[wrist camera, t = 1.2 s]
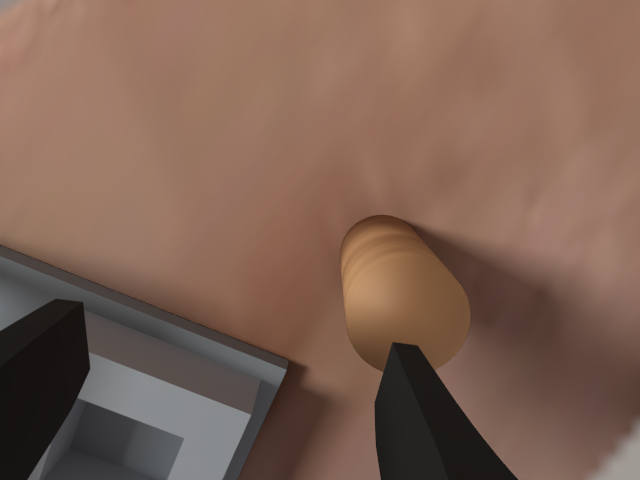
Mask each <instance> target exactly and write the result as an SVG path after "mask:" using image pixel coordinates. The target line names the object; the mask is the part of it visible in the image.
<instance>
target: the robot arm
mask: <svg viewBox="0 0 640 480" xmlns="http://www.w3.org/2000/svg"><path fill="white" fill-rule="evenodd" d="M89 371H90V360H89V351H88V342H87V333H86V323H85V314H84V305H83V302H79V301H71V300H64V299H54V300H52V301H51V302H49V303H47V304H45V305H43V306H42V307H40V308H38V309H36V310H35V311H33V312H31V313H30V314H28V315H26V316H24V317H23V318H21V319H19V320H18V321H16V322H14V323H13V324H11V325H9V326H8V327H6V328H4V329H3V330H1V331H0V480H28V478H29V477H30V475H31V473H32V472H33V470H34V469H35V467H36V465H37V464H38V462H39V461H40V459H41V458H42V456H43V454H44V453H45V451H46V450H47V448H48V447H49V445H50V443H51V442H52V440H53V439H54V437H55V435H56V434H57V432H58V431H59V429H60V427H61V426H62V424H63V423H64V421H65V419H66V418H67V416H68V414H69V413H70V411H71V410H72V407H73V405H74V403H75V401H76V399H77V397H78V395H79V393H80V391H81V389H82V387H83V384H84V382H85V380H86V378H87V375H88V373H89ZM375 433H376V448H377V456H378V462H379V469H380V476H381V480H518V479H517V478H516V477H515V476H514V475H513V473H512V472H511V471H510V470H509V469H508V468H507V467H506V465H505V464H504V463H503V462H502V461H501V460H500V458H499V457H498V456H497V455H496V454H495V452H494V451H493V450H492V449H491V447H490V446H489V445H488V444H487V443H486V441H485V440H484V439H483V438H482V436H481V435H480V434H479V432H478V431H477V430H476V428H475V427H474V426H473V425H472V423H471V422H470V420H469V419H468V418H467V416H466V415H465V414H464V412H463V411H462V409H461V408H460V407H459V405H458V404H457V403H456V401H455V400H454V398H453V397H452V395H451V394H450V393H449V391H448V390H447V388H446V387H445V385H444V384H443V382H442V381H441V379H440V378H439V376H438V375H437V373H436V372H435V370H434V369H433V367H432V366H431V364H430V363H429V361H428V360H427V358H426V357H425V355H424V354H423V352H422V351H421V349H420V348H419V347H418V345H412V344H404V343H396V342H392V345H391V349H390V352H389V355H388V359H387V362H386V366H385V369H384V373H383V376H382V380H381V383H380V386H379V390H378V393H377V397H376V400H375Z"/></svg>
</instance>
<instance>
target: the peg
mask: <svg viewBox="0 0 640 480" xmlns="http://www.w3.org/2000/svg"><path fill="white" fill-rule="evenodd" d="M340 264H341V274H342V285H343V295H344V305H345V316H346V326H347V332H348V335H349V338H350V341H351V343H352V345H353V347H354V349H355V350H356V352H357V353H358V354H359V355H360V356H361V358H362V359H363V360H365V361H366V362H367V363H368V364H369V365H371V366H373V367H374V368H376V369H378V370H380V371H382V372H384V369H385V366H386V362H387V359H388V355H389V352H390V349H391V345H392V342H396V343H404V344H412V345H418V347H419V348H420V349H421V351H422V352H423V354H424V355H425V357H426V358H427V360H428V361H429V363H430V364H431V366H432V367H433V369H434V370H435V369H437V368H439V367H441V366H442V365H444V364H445V363H447V362H448V361H449V360H450V359H451V358H452V357H453V356H455V354H456V353H457V352H458V351H459V350H460V348H461V346H462V345H463V343H464V341H465V339H466V337H467V334H468V331H469V327H470V321H471V312H470V305H469V301H468V298H467V295H466V293H465V291H464V289H463V288H462V286H461V284H460V283H459V282H458V281H457V280H456V278H455V277H454V276H453V275H452V274H451V273H450V271H449V270H448V269H447V268H446V267H445V266H444V265H443V263H442V262H441V261H440V260H439V259H438V258H437V256H436V255H435V254H434V253H433V252H432V251H431V250H430V248H429V247H428V246H427V245H426V244H425V243H424V241H423V240H422V239H421V238H420V237H419V236H418V235H417V233H416V232H415V231H414V230H413V229H412V228H411V227H410V226H409V225H408V224H407V223H405V222H404V221H402V220H400V219H398V218H396V217H393V216H388V215H376V216H371V217H368V218H365V219H363V220H361V221H359V222H358V223H356V224H355V225H354V226H353V227H352V228H351V229H350V230H349V231H348V233H347V234H346V236H345V237H344V239H343V242H342V245H341V249H340Z"/></svg>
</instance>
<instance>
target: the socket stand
mask: <svg viewBox="0 0 640 480" xmlns="http://www.w3.org/2000/svg"><path fill="white" fill-rule="evenodd" d="M54 299H64V300H71V301H79V302H83V305H84V314H85V323H86V333H87V342H88V351H89V360H90V371H89V373H88V375H87V378H86V380H85V382H84V384H83V387H82V389H81V391H80V393H79V395H78V397H77V399H76V401H75V403H74V405H73V407H72V410H71V411H70V413H69V414H68V416H67V418H66V419H65V421H64V423H63V424H62V426H61V427H60V429H59V431H58V432H57V434H56V435H55V437H54V439H53V440H52V442H51V443H50V445H49V447H48V448H47V450H46V451H45V453H44V454H43V456H42V458H41V459H40V461H39V462H38V464H37V465H36V467H35V469H34V470H33V472H32V473H31V475H30V477H29V478H28V480H237V479H238V476H239V474H240V472H241V470H242V468H243V465H244V463H245V461H246V459H247V457H248V454H249V452H250V450H251V448H252V446H253V444H254V441H255V439H256V437H257V435H258V433H259V430H260V428H261V426H262V424H263V422H264V419H265V417H266V415H267V413H268V411H269V408H270V406H271V404H272V402H273V400H274V397H275V395H276V393H277V391H278V389H279V386H280V384H281V382H282V380H283V378H284V375H285V373H286V371H287V367H288V361H289V360H286V359H284V358H281V357H279V356H276V355H274V354H271V353H269V352H266V351H264V350H261V349H259V348H256V347H254V346H251V345H249V344H246V343H244V342H241V341H239V340H236V339H234V338H231V337H229V336H226V335H224V334H221V333H219V332H216V331H214V330H211V329H209V328H206V327H204V326H201V325H199V324H196V323H194V322H191V321H189V320H186V319H184V318H181V317H179V316H176V315H174V314H171V313H169V312H166V311H164V310H161V309H159V308H156V307H154V306H151V305H149V304H146V303H144V302H141V301H139V300H136V299H134V298H131V297H128V296H126V295H123V294H121V293H118V292H116V291H113V290H111V289H108V288H106V287H103V286H101V285H98V284H96V283H93V282H91V281H88V280H86V279H83V278H81V277H78V276H76V275H73V274H71V273H68V272H66V271H63V270H61V269H58V268H56V267H53V266H51V265H48V264H46V263H43V262H41V261H38V260H36V259H33V258H31V257H28V256H26V255H23V254H21V253H18V252H16V251H13V250H11V249H8V248H6V247H3V246H1V245H0V331H1V330H3V329H4V328H6V327H8V326H9V325H11V324H13V323H14V322H16V321H18V320H19V319H21V318H23V317H24V316H26V315H28V314H30V313H31V312H33V311H35V310H36V309H38V308H40V307H42V306H43V305H45V304H47V303H49V302H51V301H52V300H54Z"/></svg>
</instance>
